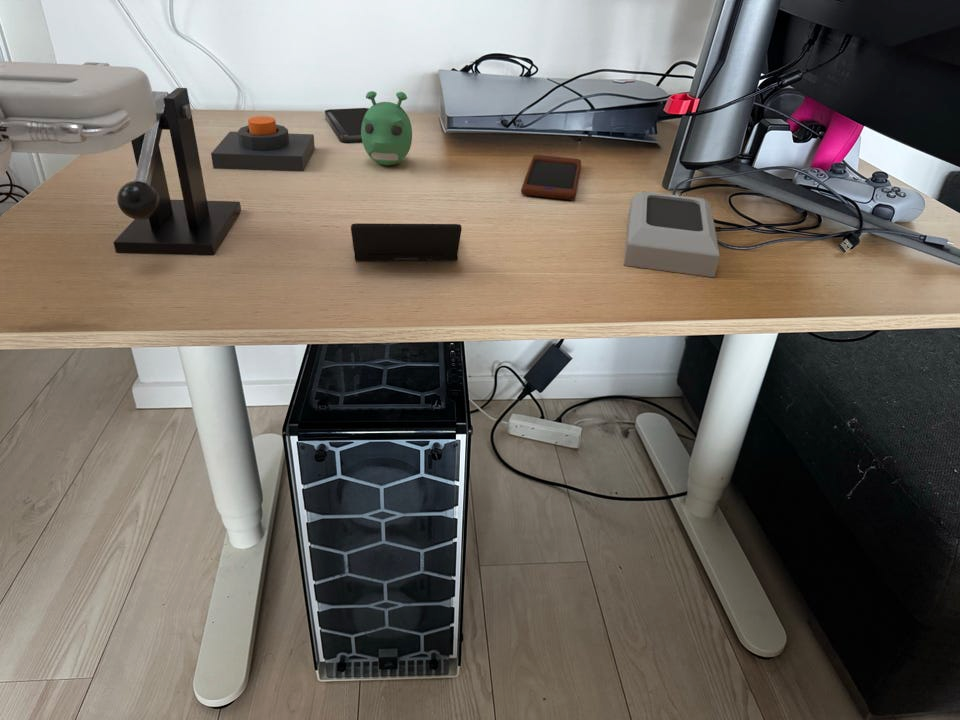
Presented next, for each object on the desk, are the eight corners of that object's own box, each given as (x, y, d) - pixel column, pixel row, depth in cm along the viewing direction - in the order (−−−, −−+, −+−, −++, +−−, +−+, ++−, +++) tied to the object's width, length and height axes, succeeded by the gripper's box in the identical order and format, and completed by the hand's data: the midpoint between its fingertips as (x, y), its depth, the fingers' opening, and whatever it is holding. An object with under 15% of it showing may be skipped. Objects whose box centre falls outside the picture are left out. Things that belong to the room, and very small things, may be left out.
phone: (340, 136, 106) (323, 109, 117) (341, 143, 106) (324, 116, 118) (392, 133, 108) (370, 107, 120) (392, 140, 109) (370, 114, 120)
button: (246, 136, 96) (245, 123, 95) (252, 128, 99) (251, 115, 98) (273, 137, 96) (272, 124, 95) (279, 129, 99) (277, 116, 98)
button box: (213, 169, 95) (208, 139, 93) (231, 146, 103) (227, 118, 101) (303, 172, 96) (300, 142, 93) (314, 149, 104) (312, 121, 102)
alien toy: (356, 172, 97) (352, 96, 91) (368, 154, 103) (365, 83, 97) (407, 176, 96) (406, 100, 91) (416, 158, 103) (415, 86, 97)
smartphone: (520, 188, 91) (533, 153, 104) (520, 195, 92) (532, 159, 104) (575, 194, 90) (581, 158, 103) (574, 201, 91) (580, 164, 103)
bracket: (214, 255, 74) (187, 110, 66) (115, 252, 73) (76, 105, 65) (241, 210, 84) (221, 80, 75) (155, 208, 83) (125, 76, 75)
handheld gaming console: (448, 216, 81) (452, 167, 71) (463, 272, 79) (470, 230, 69) (348, 235, 79) (339, 188, 70) (362, 293, 77) (354, 253, 68)
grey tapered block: (629, 233, 74) (633, 185, 87) (623, 265, 76) (628, 214, 89) (722, 245, 73) (713, 195, 85) (714, 277, 75) (706, 223, 87)
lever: (161, 227, 68) (147, 205, 65) (122, 226, 68) (107, 204, 64) (184, 113, 74) (173, 87, 70) (149, 112, 73) (135, 85, 70)
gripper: (93, 77, 37) (176, 30, 48) (-328, 58, 35) (-139, 14, 47) (121, 193, 40) (192, 123, 52) (-260, 179, 39) (-101, 111, 50)
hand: (32, 71), depth 49 cm, fingers open, 8 cm apart
